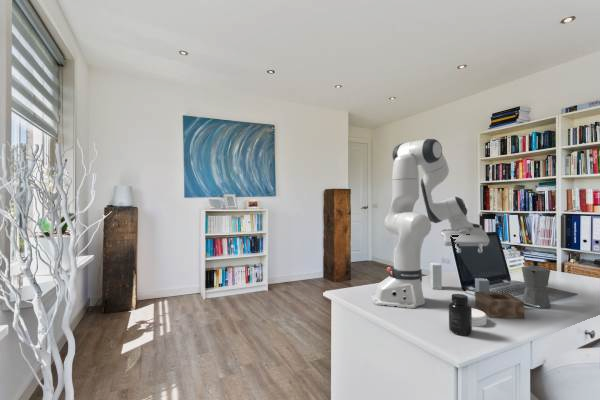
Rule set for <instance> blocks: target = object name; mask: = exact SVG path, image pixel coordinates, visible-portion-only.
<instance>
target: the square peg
mask: <svg viewBox="0 0 600 400" xmlns="http://www.w3.org/2000/svg"><path fill="white" fill-rule="evenodd" d="M474 285H475V286H474V289H475V290H474V293H475V292H490V280H488V279H486V278H482V277H481V278H480V277H479V278H477V277H476V278H474Z"/></svg>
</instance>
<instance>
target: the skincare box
mask: <svg viewBox="0 0 600 400" xmlns="http://www.w3.org/2000/svg"><path fill="white" fill-rule="evenodd" d="M442 275H443V274H442V264H441V263H440V262H430V263H429V277H430V278H429V279H430V280H429V282H430V283H429V284H430V285H429V286H430V287H431V288H432V289H433V290H442V287H443V284H442V281H443V280H442V278H443V277H442Z"/></svg>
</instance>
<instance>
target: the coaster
mask: <svg viewBox="0 0 600 400" xmlns="http://www.w3.org/2000/svg"><path fill="white" fill-rule="evenodd" d="M471 309H472V327H484V326H486V325H487V324H488V323H487V318H488V316H487V315H486V314H485V313H484V312H483V311H481V310H479V309H478V308H473V307H471Z"/></svg>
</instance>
